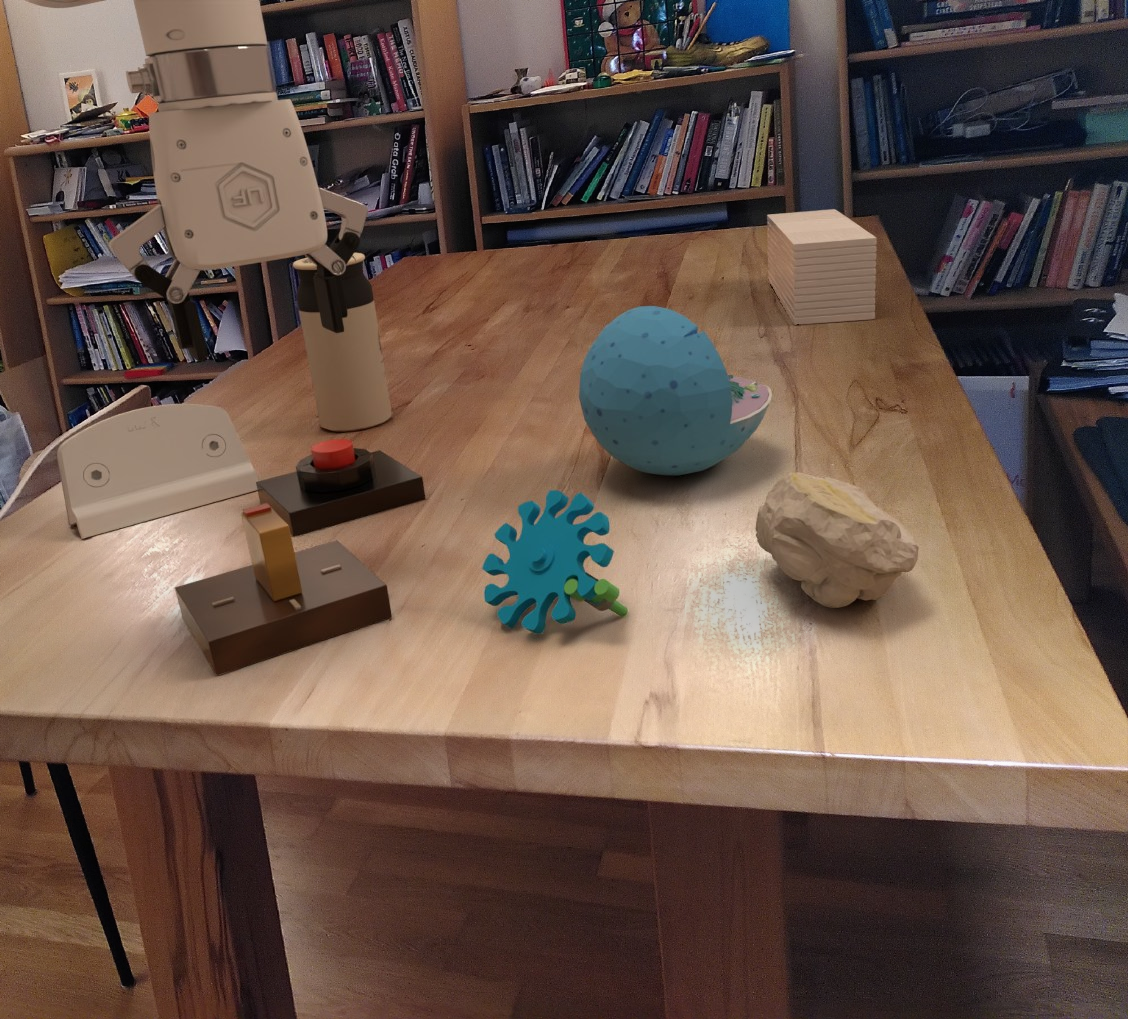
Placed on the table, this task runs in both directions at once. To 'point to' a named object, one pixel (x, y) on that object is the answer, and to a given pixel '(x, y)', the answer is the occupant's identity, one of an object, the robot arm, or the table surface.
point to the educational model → (665, 395)
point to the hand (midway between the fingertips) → (268, 343)
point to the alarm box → (340, 491)
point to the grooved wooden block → (822, 266)
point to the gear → (551, 564)
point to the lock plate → (281, 608)
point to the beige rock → (833, 539)
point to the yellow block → (271, 551)
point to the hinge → (151, 466)
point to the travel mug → (345, 353)
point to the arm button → (333, 453)
